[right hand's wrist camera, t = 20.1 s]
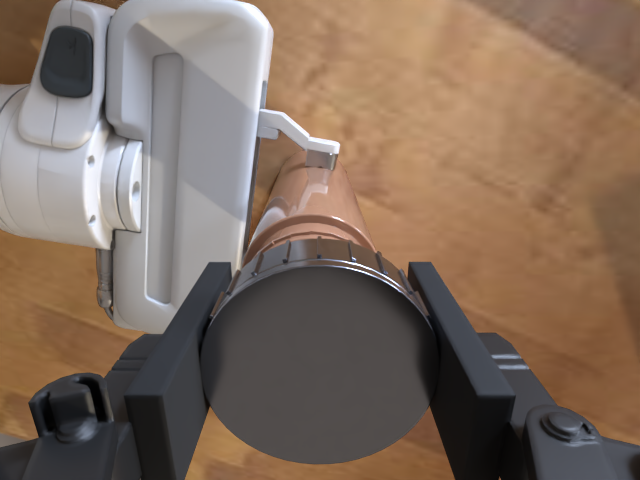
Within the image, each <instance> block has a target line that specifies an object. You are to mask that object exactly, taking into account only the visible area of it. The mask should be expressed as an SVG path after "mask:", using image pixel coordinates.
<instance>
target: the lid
mask: <svg viewBox="0 0 640 480" xmlns="http://www.w3.org/2000/svg"><path fill="white" fill-rule="evenodd" d="M428 318H430V315H429V313H428V311H427V309H426V307H425V305H424V303H423V301H422V299H421V297H420V295H419V293H418V291H416V292H415V291H414V289H413V288H412V286H411V284H410V283H409V281H408V279H407V277H406V275H405V273H404V271H403V270H402V269H400V270H398V269H397V268H396V267H395V266H394V265H393V264H392V263H391V262H389V261H388V260H387V259H385V258H384V257H382V254H381V252H379V251H377V253H375V252H373V251H372V250H370V249H368V248H365V247H362V246H360V245H357V244H354V243H353V241H352V240H349V241H348V242H346V241H342V240H334V239H321V236H317V239H305V240H298V241H293V242H290V240H287V241H286V244H282V245H280V246H277V247H275V248H272V249H270V250H268V251H266V252H264V253H262V252H259V253H258V254H257V257H256V258H254V259H253V260H252V261H250V262H249V263H248V264H247V265H245V266H244V267H243V268H242V269H241V270H238V269H237V270H236V272H235V274H234V276H233V278H232V280H231V282H230V284H229V285H228V287H227V289H226V291H225V293H224V292H221V294H220V296H219V298H218V300H217V302H216V304H215V306H214V308H213V310H212V312H211V314H210V316H209V319H212V320H211V322H210V324H209V326H208V328H207V330H206V333H205V336H204V339H203V342H202V346H201V352H200V371H201V379H202V386H203V389H204V393H205V396H206V398H207V400H208V402H209V404H210V406H211V408H212V410H213V411H214V413H215V414H216V416H217V417H218V418H219V420H220V421H221V422H222V423H223V424H224V425H225V426H226V428H227V429H229V430H230V431H231V432H232V433H233V434H234V435H235V436H236V437H238V438H239V439H241V440H242V441H243V442H245V443H246V444H248V445H250V446H251V447H253V448H255V449H257V450H259V451H261V452H263V453H266V454H268V455H271V456H273V457H276V458H280V459H283V460H287V461H292V462H298V463H306V464H334V463H343V462H347V461H352V460H357V459H360V458H363V457H366V456H369V455H372V454H374V453H376V452H378V451H381V450H383V449H385V448H386V447H388V446H390V445H392V444H393V443H395V442H396V441H398V440H399V439H400V438H402V437H403V436H404V435H406V434H407V433H408V432H409V431H410V430H411V429H412V428H413V427H414V426H415V425H416V424H417V423H418V421H419V420H420V419H421V418H422V416H423V415H424V414H425V412H426V410H427V409H428V407H429V405H430V404H431V401H432V399H433V397H434V394H435V392H436V388H437V384H438V376H439V368H440V353H439V348H438V344H437V339H436V337H435V334H434V332H433V329H432V327H431V325H430V323H429V321H428Z"/></svg>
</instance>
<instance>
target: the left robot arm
mask: <svg viewBox="0 0 640 480" xmlns="http://www.w3.org/2000/svg"><path fill="white" fill-rule="evenodd" d="M273 36H274V35H273V29H272V27H271V25H270V23H269V21H268V20H267V18H266V17H265V16H264V14H263V13H262V12H261V11H260V10H259V9H258V8H257V7H255V6H254V5H251V4H249V3H245V2H240V1H235V0H128V1H127V2H125V3H124V4H122V5H121V6H120V7H119V8H118V9H117V10H116V9H113V8H110V7H107V6H104V5H101V4H96V3H92V2H87V1H80V0H60V1H59V2H57V3H56V4H55V6H54V7H53V9H52V11H51V14H50V17H49V20H48V24H47V28H46V32H45V36H44V39H43V43H42V47H41V51H40V54H39V58H38V61H37V65H36V68H35V71H34V74H33V77H32V80H31V83H30V84H17V85H5V84H0V229H1V230H3V231H6V232H8V233H11V234H13V235H17V236H21V237H27V238H33V239H40V240H46V241H53V242H59V243H66V244H73V245H79V246H85V247H92V248H96V268H97V274H98V287H97V301H98V304H99V306H100V307H102V308H104V309H105V312H106V314H107V315H108V316H109V318H110V319H111V320H112V321H113V322H114V324H115V325H117V326H119V327H121V328H125V329H132V330H139V331H144V332H147V333H150V334H163V333H164V331H165V330H166V328H167V327H168V325H169V324H170V322H171V320H172V319H173V317H174V316H175V314H176V313H177V311H178V310H179V308H180V306H181V305H182V303H183V302H184V300H185V299H186V297H187V295H188V294H189V292H190V291H191V289H192V288H193V286H194V285H195V283H196V281H197V280H198V278H199V277H200V275H201V274H202V272H203V270H204V269H205V267H206V266H207V264H208V263H209V262H231V271H232V278H233V276H234V274H235V272H236V270H237V269H238V270H241V269H242V263H243V260H244V256H245V254H246V252H247V249H248V241H249V232H250V224H251V216H252V208H253V200H254V192H255V183H256V175H257V167H258V159H259V151H260V143H261V138H266V139H272V140H276V139H277V138H278V137H279V135H280V133H281V131H282V132H283V133H284V134H285V135H287V136H288V137H289V138H290V139H292V140H293V141H294V142H295V143H296V144H298V145H299V146H300V147H301V148H303V149H304V150H305V151H306V152H307V155H306V162H305V166H309V167H319V166H321V167H322V168H323V169H327V170H335V167H336V162H337V158H338V152H339V147H340V144H339V143H338V142H335V141H330V140H325V139H319V138H314V137H309V134H308V133H307V132H306V131H305V130H304V129H302V128H301V127H300V126H299V125H298V124H296V123H295V122H294V121H293V120H292V119H291V118H289V117H288V116H287V115H286V114H285V113H283V112H278V111H272V110H267V109H265V102H266V93H267V85H268V77H269V69H270V61H271V53H272V44H273ZM112 306H113V310H112V308H111V307H112Z"/></svg>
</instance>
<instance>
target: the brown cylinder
mask: <svg viewBox="0 0 640 480" xmlns="http://www.w3.org/2000/svg"><path fill="white" fill-rule="evenodd" d="M306 155H307V152H306V151H305V150H303V151H300V152H297V153H296V154H294V155H292V156H291V157H290V158H289V159H288V160H287V161H286V162H285V163H284V164H283V166H282V168H281V170H280V172H279V175H278V177H277V179H276V182H275V184H274V187H273V189H272V191H271V194H270V196H269V199H268V201H267V204H266V206H265V208H264V211H263V213H262V216H261V218H260V220H259V223H258V225H257V228H256V230H255V232H254V235H253V237H252V240H251V242H250V244H249V247H248V249H247V252H246V254H245V256H244V260H243V263H242V268H243V267H244V266H245V265H247V264H248V263H249V262H250V261H252V260H253V259H254V258H256V257H257V254H258V253H259V252H262V253H264V252H266V251H268V250H270V249H272V248H275V247H277V246H280V245H282V244H286V241H287V240H290V242H293V241H298V240H305V239H317V236H321V239H334V240H342V241H346V242H348V241H349V240H352V241H353V243H354V244H357V245H360V246H362V247H365V248H368V249H370V250H372V251H373V252H375V253H377V251H376V249H375V246H374V244H373V241H372V238H371V236H370V233H369V230H368V228H367V225H366V223H365V220H364V217H363V215H362V212H361V209H360V207H359V204H358V201H357V199H356V196H355V194H354V191H353V188H352V186H351V183H350V180H349V178H348V175H347V173H346V170H345V168H344V166H343V165H342V163H341V162H340V161H339V160H338V159H337V162H336V167H335V170H327V169H323V168H322V167H321V166H319V167H309V166H305V162H306Z"/></svg>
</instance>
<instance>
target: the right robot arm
mask: <svg viewBox="0 0 640 480" xmlns="http://www.w3.org/2000/svg"><path fill="white" fill-rule="evenodd" d="M231 280H232V271H231V262H209V263H208V264H207V266H206V267H205V269H204V270H203V272H202V274H201V275H200V277H199V278H198V280H197V281H196V283H195V285H194V286H193V288H192V289H191V291H190V292H189V294H188V295H187V297H186V299H185V300H184V302H183V303H182V305H181V306H180V308H179V310H178V311H177V313H176V314H175V316H174V317H173V319H172V320H171V322H170V324H169V325H168V327H167V328H166V330H165V331H164V333H163V334H144V335H142V336H141V337H140V338H138V339H137V340H135V341H134V342H132V343H131V344H130V345H129V346H128V347H127V348H126V350H125V351H124V352H123V354H122V355H121V356H120V359H119V360H117V362H116V363H115V364H114V366H113V367H112V370H111V371H109V372H108V374H107V375H106V376H105V378H103V377H102V376H100V375H98V374H93V373H78V374H73V375H69V376H66V377H62V378H60V379H58V380H56V381H54V382H52V383H49V384H47V385H46V386H45V387H43V388H42V389H41V390H39V391H38V392H37V393H35V395H34V396H33V397H32V399H31V400H30V401H29V403H28V404H29V407H30V410H31V413H32V417H33V420H34V423H35V426H36V429H37V433H38V436H39V438H36V439H33V440H30V441H26V442H21V443H17V444H13V445H9V446H5V447H1V448H0V480H139V479H140V477H141V480H184V479H185V477H186V474H187V471H188V468H189V465H190V462H191V459H192V456H193V453H194V451H195V448H196V445H197V442H198V439H199V436H200V433H201V430H202V427H203V425H204V422H205V419H206V416H207V413H208V410H209V407H210V404H209V402H208V400H207V398H206V396H205V393H204V389H203V386H202V379H201V371H200V352H201V346H202V342H203V339H204V336H205V333H206V330H207V328H208V326H209V324H210V322H211V320H212V319H209V316H210V314H211V312H212V310H213V308H214V306H215V304H216V302H217V300H218V298H219V296H220V294H221V292H224V293H225V291H226V289H227V287H228V285H229V284H230V282H231ZM408 281H409V283H410V284H411V286H412V288H413V289H414V291H415V292H416V291H418V293H419V295H420V297H421V299H422V301H423V303H424V305H425V307H426V309H427V311H428V313H429V315H430V318H428V321H429V323H430V325H431V327H432V329H433V332H434V334H435V337H436V339H437V344H438V348H439V353H440V368H439V376H438V384H437V388H436V392H435V394H434V397H433V399H432V401H431V404H430V408H431V411H432V414H433V417H434V420H435V422H436V425H437V428H438V431H439V434H440V437H441V440H442V443H443V446H444V448H445V451H446V454H447V457H448V460H449V463H450V466H451V469H452V472H453V474H454V477H455V480H499V476H500V478H501V480H640V446H639V445H634V444H630V443H626V442H622V441H617V440H613V439H609V438H606V437H603V436H601V435H600V434H599V432H598V431H597V429H596V428H595V426H593V425H592V424H591V423H590V422H589V421H588V420H586V419H585V418H584V417H583V416H581V415H579V414H577V413H575V412H573V411H572V410H570V409H566V408H563V407H560V406H557V404H556V403H555V402H554V400H553V399H552V398H551V396H550V395H549V394H548V392H547V391H546V390H545V388H544V387H543V386H542V384H541V383H540V382H539V380H538V379H537V378H536V376H535V375H534V374H533V372H532V371H531V370H530V369H528V366H527V364H526V363H525V362H524V360H523V359H521V358H520V355H519V354H518V352H517V351H516V350H515V348H514V347H513V346H512V344H511V343H509V342H508V341H507V340H505V339H504V338H502V337H501V336H499V335H498V334H497V333H476V332H475V330H474V329H473V327H472V326H471V324H470V322H469V321H468V319H467V318H466V316H465V315H464V313H463V312H462V310H461V308H460V307H459V305H458V304H457V302H456V301H455V299H454V297H453V296H452V294H451V293H450V291H449V290H448V288H447V287H446V285H445V283H444V282H443V280H442V279H441V277H440V276H439V274H438V272H437V271H436V269H435V268H434V266H433V265H432V263H431V262H409V267H408Z"/></svg>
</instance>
